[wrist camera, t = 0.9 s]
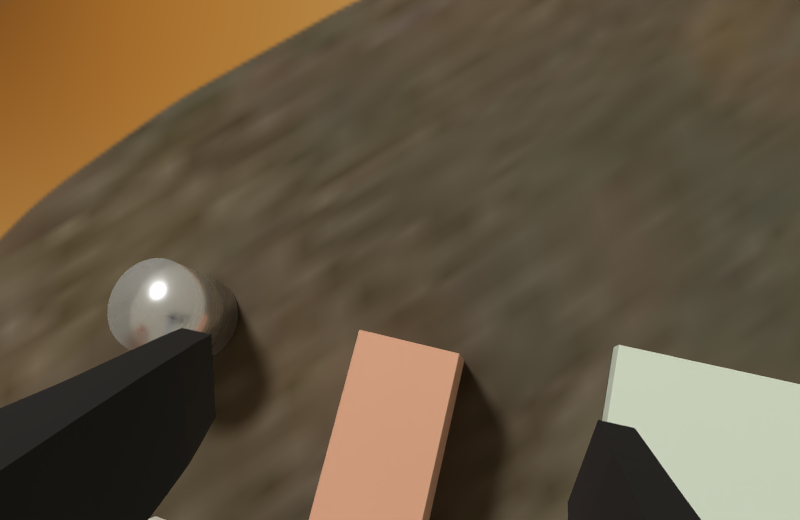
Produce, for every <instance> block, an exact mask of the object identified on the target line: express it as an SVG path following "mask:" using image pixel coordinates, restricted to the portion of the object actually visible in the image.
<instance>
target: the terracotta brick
mask: <svg viewBox="0 0 800 520" xmlns="http://www.w3.org/2000/svg"><path fill="white" fill-rule="evenodd" d="M463 365H464V360H463V358H462V357H461V355H460V354H458V353H454V352H450V351H446V350H442V349H437V348H433V347H429V346H425V345H421V344H417V343H412V342H408V341H404V340H400V339H396V338H392V337H387V336H383V335H379V334H375V333H371V332H367V331H362V330H359V334H358V337H357V341H356V345H355V349H354V352H353V356H352V360H351V364H350V367H349V371H348V375H347V379H346V382H345V386H344V390H343V394H342V397H341V401H340V405H339V409H338V412H337V416H336V420H335V424H334V427H333V431H332V435H331V439H330V442H329V446H328V450H327V454H326V458H325V461H324V465H323V469H322V473H321V476H320V480H319V484H318V488H317V491H316V495H315V499H314V503H313V506H312V510H311V514H310V518H309V520H429V519H430V515H431V510H432V506H433V501H434V496H435V492H436V487H437V483H438V478H439V474H440V469H441V465H442V460H443V456H444V451H445V447H446V442H447V437H448V433H449V428H450V424H451V419H452V415H453V410H454V406H455V401H456V397H457V392H458V388H459V383H460V379H461V374H462V369H463Z"/></svg>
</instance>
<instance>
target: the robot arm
mask: <svg viewBox="0 0 800 520" xmlns="http://www.w3.org/2000/svg"><path fill="white" fill-rule="evenodd" d="M214 419H215V399H214V378H213V356H212V335H211V334H208V333H203V332H199V331H194V330H190V329H185V328H180V329H178V330H175V331H173V332H170V333H168V334H166V335H163V336H161V337H159V338H157V339H155V340H152V341H150V342H148V343H146V344H144V345H142V346H139V347H137V348H135V349H133V350H131V351H129V352H127V353H125V354H122V355H120V356H118V357H116V358H114V359H112V360H110V361H107V362H105V363H103V364H101V365H99V366H97V367H94V368H92V369H90V370H88V371H86V372H84V373H81V374H79V375H77V376H75V377H73V378H71V379H68V380H66V381H64V382H62V383H59V384H57V385H54V386H52V387H50V388H47V389H45V390H43V391H40V392H38V393H36V394H33V395H31V396H28V397H26V398H24V399H21V400H19V401H17V402H14V403H12V404H10V405H7V406H5V407H2V408H0V520H148V519H149V518H150V516H151V515H152V514H153V512H154V511H155V510H156V508H157V507H158V506H159V504H160V503H161V502H162V500H163V499H164V498H165V496H166V495H167V494H168V492H169V491H170V489H171V488H172V487H173V485H174V484H175V483H176V481H177V480H178V479H179V477H180V476H181V474H182V473H183V472H184V470H185V469H186V467H187V466H188V465H189V463H190V461H191V460H192V458H193V456H194V454H195V453H196V451H197V449H198V448H199V446H200V444H201V442H202V441H203V439H204V437H205V435H206V433H207V431H208V430H209V428H210V426H211V424H212V422H213V420H214ZM568 520H701V519H700V517H699V516H698V515H697V513H696V512H695V511H694V509H693V508H692V507H691V505H690V504H689V502H688V501H687V500H686V498H685V497H684V496H683V494H682V493H681V492H680V490H679V489H678V487H677V486H676V485H675V483H674V482H673V480H672V479H671V478H670V476H669V475H668V474H667V472H666V471H665V469H664V468H663V467H662V465H661V464H660V462H659V461H658V459H657V458H656V457H655V455H654V454H653V452H652V451H651V450H650V448H649V447H648V445H647V444H646V443H645V441H644V440H643V439H642V437H641V436H640V434H639V433H638V432H637V430H636V429H635V428H633V427H628V426H624V425H619V424H615V423H610V422H606V421H601V420H598V422H597V425H596V427H595V430H594V433H593V436H592V438H591V441H590V444H589V446H588V449H587V452H586V455H585V457H584V460H583V463H582V465H581V468H580V471H579V474H578V476H577V479H576V482H575V484H574V487H573V490H572V493H571V495H570V498H569V501H568Z"/></svg>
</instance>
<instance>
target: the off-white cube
mask: <svg viewBox="0 0 800 520" xmlns="http://www.w3.org/2000/svg"><path fill="white" fill-rule="evenodd" d="M148 520H164V519H162V518H159V517H153V518H150V519H148Z"/></svg>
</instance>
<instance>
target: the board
mask: <svg viewBox="0 0 800 520" xmlns="http://www.w3.org/2000/svg"><path fill="white" fill-rule="evenodd" d="M602 421H606V422H610V423H615V424H619V425H624V426H628V427H633V428H635V429H636V430H637V432H638V433H639V434H640V436H641V437H642V439H643V440H644V441H645V443H646V444H647V445H648V447H649V448H650V450H651V451H652V452H653V454H654V455H655V457H656V458H657V459H658V461H659V462H660V464H661V465H662V467H663V468H664V469H665V471H666V472H667V474H668V475H669V476H670V478H671V479H672V480H673V482H674V483H675V485H676V486H677V487H678V489H679V490H680V492H681V493H682V494H683V496H684V497H685V498H686V500H687V501H688V502H689V504H690V505H691V507H692V508H693V509H694V511H695V512H696V513H697V515H698V516H699V517H700V519H701V520H800V384H795V383H791V382H786V381H782V380H777V379H773V378H768V377H763V376H759V375H754V374H750V373H745V372H741V371H736V370H731V369H727V368H722V367H718V366H713V365H709V364H704V363H699V362H695V361H690V360H686V359H681V358H677V357H672V356H667V355H663V354H658V353H654V352H649V351H645V350H640V349H635V348H631V347H626V346H622V345H618V346H616V347H614V349H613V355H612V361H611V368H610V374H609V380H608V387H607V393H606V399H605V406H604V412H603V418H602Z"/></svg>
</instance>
